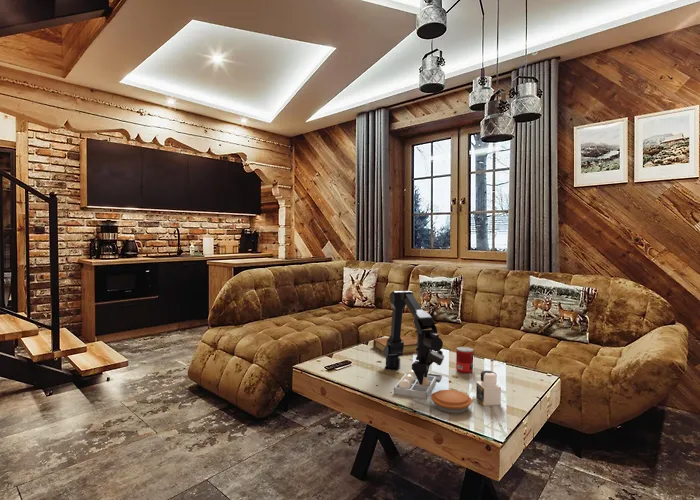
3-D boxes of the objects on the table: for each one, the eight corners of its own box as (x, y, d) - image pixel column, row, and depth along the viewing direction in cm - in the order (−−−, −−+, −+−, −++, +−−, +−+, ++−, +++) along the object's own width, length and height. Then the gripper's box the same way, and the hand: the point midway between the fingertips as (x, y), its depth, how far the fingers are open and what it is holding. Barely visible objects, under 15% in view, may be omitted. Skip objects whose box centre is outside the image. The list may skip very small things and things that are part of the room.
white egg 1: (405, 381, 177) (405, 371, 177) (408, 378, 181) (408, 367, 181) (415, 383, 175) (416, 372, 175) (418, 379, 180) (418, 369, 179)
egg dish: (425, 379, 181) (425, 377, 181) (428, 375, 187) (428, 373, 187) (439, 381, 179) (439, 379, 179) (441, 377, 185) (441, 375, 184)
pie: (437, 396, 162) (437, 384, 162) (476, 404, 154) (476, 392, 154) (424, 410, 149) (424, 397, 149) (466, 420, 141) (466, 406, 141)
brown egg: (427, 390, 166) (427, 379, 166) (416, 388, 168) (416, 377, 168) (430, 386, 171) (430, 375, 171) (419, 385, 173) (419, 374, 173)
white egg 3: (397, 392, 165) (397, 380, 165) (400, 388, 169) (400, 377, 169) (408, 393, 163) (408, 382, 163) (411, 389, 167) (411, 378, 167)
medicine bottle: (475, 398, 160) (476, 369, 160) (492, 398, 160) (493, 369, 160) (483, 406, 153) (483, 375, 152) (501, 405, 153) (501, 375, 153)
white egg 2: (401, 386, 171) (401, 375, 171) (404, 382, 175) (404, 372, 175) (412, 388, 169) (412, 377, 169) (415, 384, 173) (415, 373, 173)
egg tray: (393, 393, 164) (393, 387, 164) (406, 378, 183) (406, 372, 183) (426, 399, 159) (426, 392, 159) (435, 382, 178) (436, 376, 178)
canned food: (473, 374, 189) (474, 351, 189) (456, 372, 191) (457, 350, 191) (472, 368, 197) (472, 347, 197) (455, 367, 198) (456, 346, 198)
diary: (407, 344, 244) (407, 335, 243) (422, 353, 226) (423, 343, 226) (373, 347, 236) (373, 338, 235) (386, 356, 218) (386, 346, 218)
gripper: (438, 353, 157) (438, 391, 158) (446, 342, 175) (445, 376, 175) (411, 349, 162) (411, 387, 162) (421, 339, 179) (421, 373, 179)
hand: (423, 380), depth 170 cm, fingers open, 9 cm apart
